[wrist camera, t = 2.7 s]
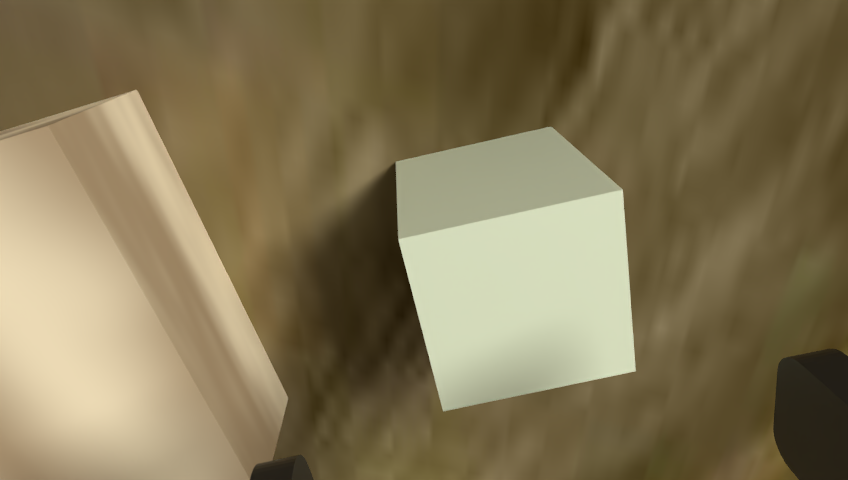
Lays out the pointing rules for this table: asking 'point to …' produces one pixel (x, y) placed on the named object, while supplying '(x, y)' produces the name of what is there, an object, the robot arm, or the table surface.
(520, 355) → the sage block
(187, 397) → the birch block
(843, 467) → the robot arm
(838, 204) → the table surface
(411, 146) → the table surface
